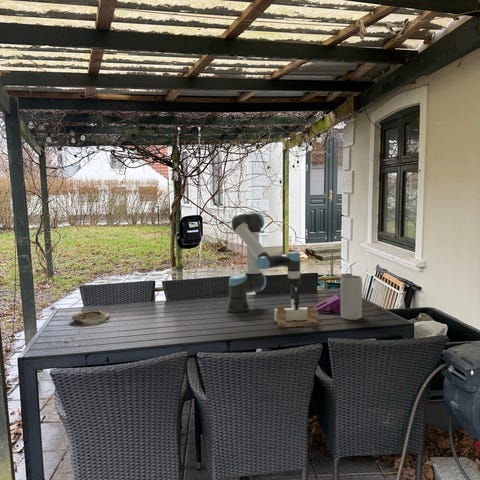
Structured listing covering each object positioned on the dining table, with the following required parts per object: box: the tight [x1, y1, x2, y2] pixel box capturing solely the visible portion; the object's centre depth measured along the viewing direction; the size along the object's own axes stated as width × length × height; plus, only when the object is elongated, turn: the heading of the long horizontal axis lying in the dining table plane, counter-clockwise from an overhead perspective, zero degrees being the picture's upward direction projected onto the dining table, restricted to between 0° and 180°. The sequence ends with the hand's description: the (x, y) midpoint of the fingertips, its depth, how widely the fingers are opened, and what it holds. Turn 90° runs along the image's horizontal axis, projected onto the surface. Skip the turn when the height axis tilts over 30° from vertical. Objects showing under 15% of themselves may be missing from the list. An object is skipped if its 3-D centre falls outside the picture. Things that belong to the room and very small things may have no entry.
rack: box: [276, 304, 318, 328], centre depth 250 cm, size 10×22×10 cm, turn 91°
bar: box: [273, 306, 320, 322], centre depth 259 cm, size 4×27×7 cm, turn 94°
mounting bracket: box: [314, 294, 341, 314], centre depth 277 cm, size 9×8×18 cm
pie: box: [71, 310, 111, 326], centre depth 268 cm, size 28×27×5 cm
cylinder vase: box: [340, 274, 363, 321], centre depth 260 cm, size 12×12×25 cm
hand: (295, 312), depth 259 cm, fingers open, 13 cm apart
